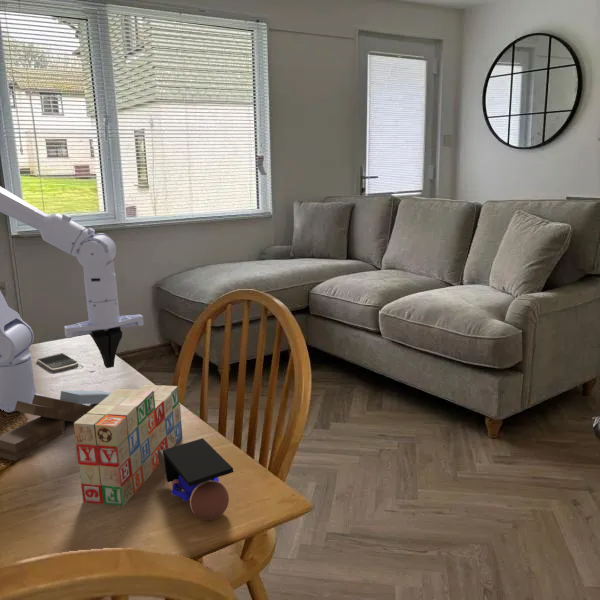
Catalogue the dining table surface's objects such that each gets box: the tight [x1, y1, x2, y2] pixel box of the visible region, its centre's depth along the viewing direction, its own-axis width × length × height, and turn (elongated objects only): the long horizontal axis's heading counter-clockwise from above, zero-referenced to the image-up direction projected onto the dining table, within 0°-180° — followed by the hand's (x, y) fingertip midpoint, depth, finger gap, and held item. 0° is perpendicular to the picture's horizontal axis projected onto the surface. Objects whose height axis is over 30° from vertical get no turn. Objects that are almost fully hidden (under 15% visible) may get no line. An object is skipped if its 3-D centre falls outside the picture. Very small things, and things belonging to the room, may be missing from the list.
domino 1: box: [15, 401, 83, 423], centre depth 105 cm, size 2×5×10 cm
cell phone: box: [36, 353, 79, 373], centre depth 139 cm, size 6×11×1 cm, turn 43°
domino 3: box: [0, 429, 64, 462], centre depth 100 cm, size 2×5×10 cm
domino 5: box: [59, 390, 112, 405], centre depth 113 cm, size 2×5×10 cm
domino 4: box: [32, 394, 95, 415], centre depth 108 cm, size 2×5×10 cm
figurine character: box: [158, 437, 234, 521], centre depth 83 cm, size 7×8×15 cm
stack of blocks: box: [73, 384, 183, 507], centre depth 91 cm, size 21×6×12 cm, turn 169°
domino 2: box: [0, 416, 66, 453], centre depth 101 cm, size 2×5×10 cm
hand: (109, 366), depth 117 cm, fingers closed
